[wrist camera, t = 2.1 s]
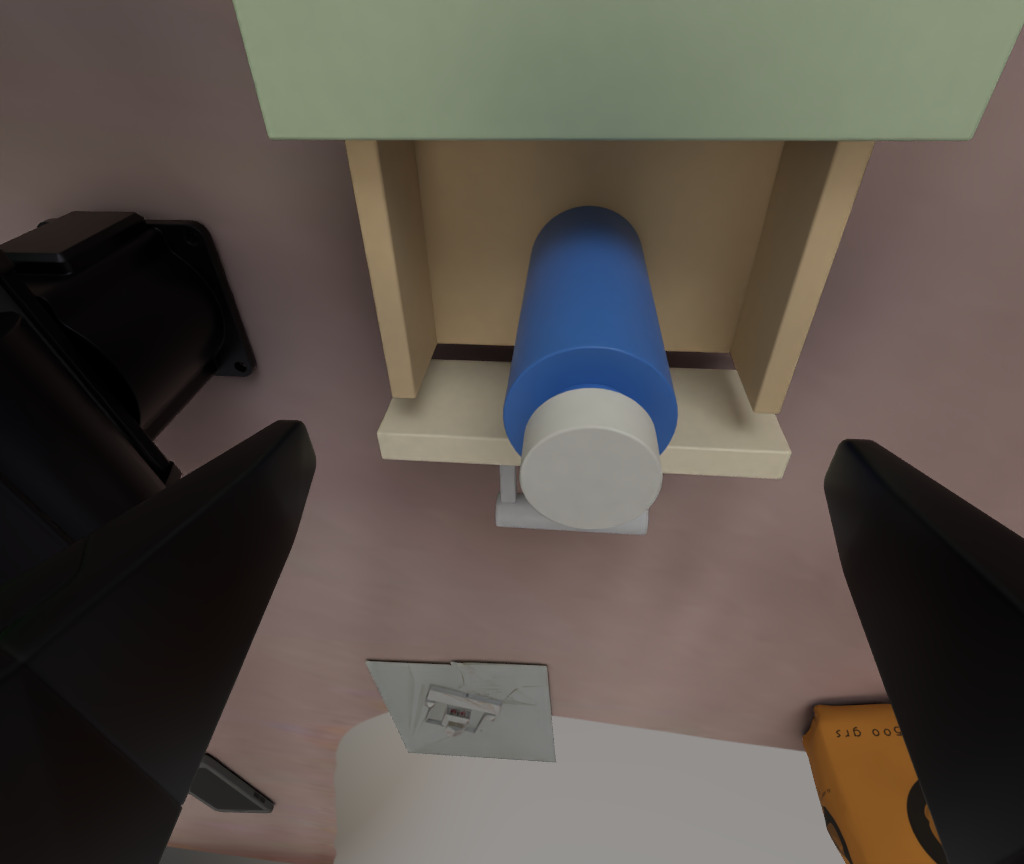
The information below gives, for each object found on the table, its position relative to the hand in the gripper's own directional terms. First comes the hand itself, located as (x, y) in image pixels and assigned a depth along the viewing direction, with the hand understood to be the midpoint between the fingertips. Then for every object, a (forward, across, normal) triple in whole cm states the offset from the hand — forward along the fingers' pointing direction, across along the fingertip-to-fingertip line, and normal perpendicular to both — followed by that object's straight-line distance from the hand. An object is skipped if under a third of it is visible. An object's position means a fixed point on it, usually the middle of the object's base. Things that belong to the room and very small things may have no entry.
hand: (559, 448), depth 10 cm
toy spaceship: (+13, +9, +34) cm, 37 cm away
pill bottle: (+10, -1, +1) cm, 10 cm away
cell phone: (+12, +35, +58) cm, 69 cm away
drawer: (+11, -1, +2) cm, 12 cm away
